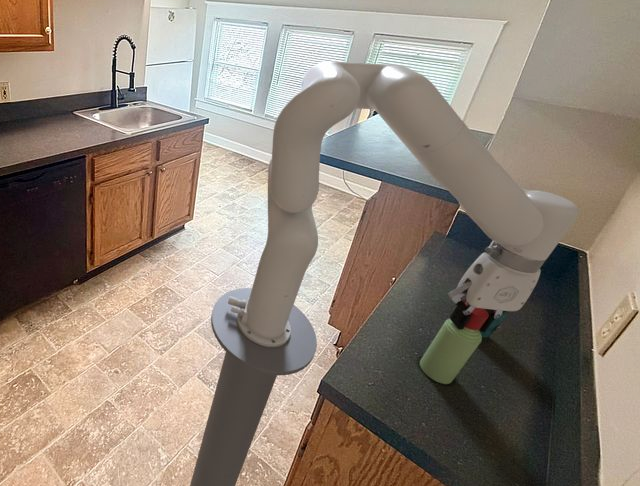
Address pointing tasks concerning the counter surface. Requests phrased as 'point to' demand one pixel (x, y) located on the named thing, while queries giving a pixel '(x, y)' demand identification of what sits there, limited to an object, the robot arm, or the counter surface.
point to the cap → (477, 318)
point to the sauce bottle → (449, 352)
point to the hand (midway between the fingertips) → (467, 324)
